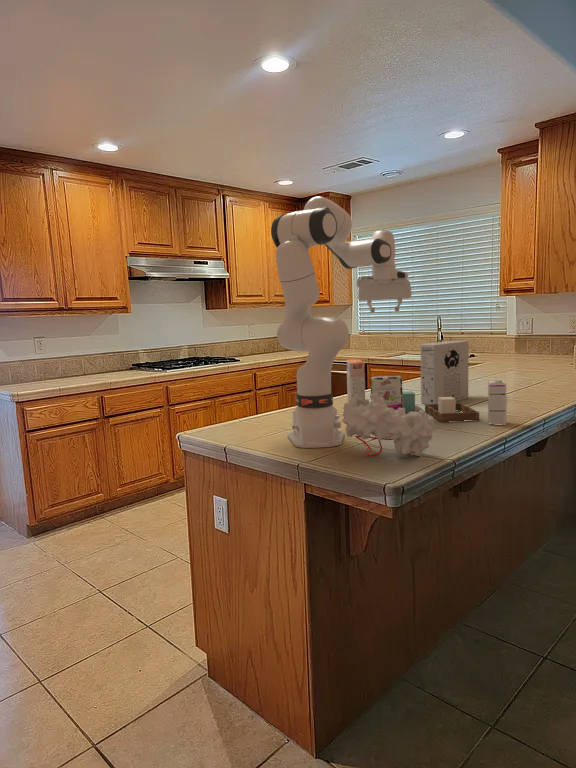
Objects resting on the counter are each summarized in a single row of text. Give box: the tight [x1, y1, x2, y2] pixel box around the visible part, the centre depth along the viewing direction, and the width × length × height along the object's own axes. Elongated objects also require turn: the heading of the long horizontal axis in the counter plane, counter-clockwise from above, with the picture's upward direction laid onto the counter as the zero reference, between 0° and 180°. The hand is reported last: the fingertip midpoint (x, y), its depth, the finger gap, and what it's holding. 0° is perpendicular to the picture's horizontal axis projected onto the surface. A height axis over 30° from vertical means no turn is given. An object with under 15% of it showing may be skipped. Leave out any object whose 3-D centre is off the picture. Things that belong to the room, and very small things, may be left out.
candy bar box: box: [370, 375, 404, 410], centre depth 188 cm, size 11×5×16 cm, turn 76°
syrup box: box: [487, 380, 508, 424], centre depth 177 cm, size 6×6×14 cm
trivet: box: [405, 404, 425, 414], centre depth 201 cm, size 10×10×2 cm
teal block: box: [402, 391, 416, 410], centre depth 201 cm, size 5×5×6 cm
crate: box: [424, 402, 480, 423], centre depth 192 cm, size 19×14×3 cm
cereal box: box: [420, 340, 469, 405], centre depth 220 cm, size 22×8×25 cm, turn 124°
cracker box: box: [346, 358, 366, 404], centre depth 204 cm, size 14×6×21 cm, turn 179°
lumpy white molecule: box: [342, 393, 435, 457], centre depth 146 cm, size 20×18×25 cm
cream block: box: [438, 397, 456, 414], centre depth 197 cm, size 5×5×6 cm
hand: (384, 311), depth 201 cm, fingers open, 8 cm apart
